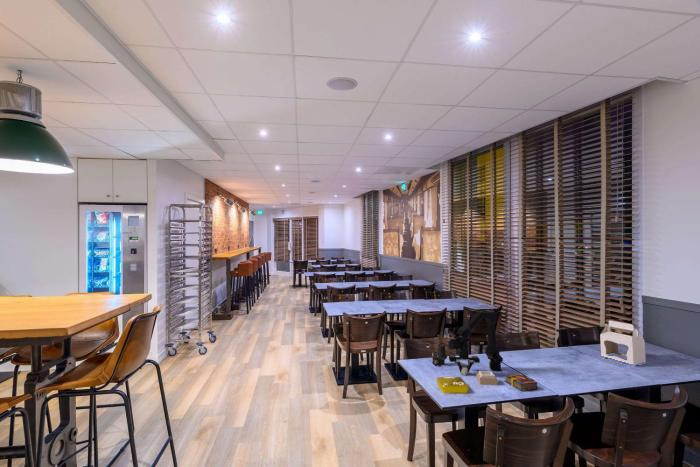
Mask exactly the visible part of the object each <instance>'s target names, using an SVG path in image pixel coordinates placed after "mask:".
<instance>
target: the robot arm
mask: <svg viewBox="0 0 700 467" xmlns="http://www.w3.org/2000/svg"><path fill="white" fill-rule="evenodd" d="M483 319H484V321H485V322H486V326H487V343H488V344H487V346H486V347H485V349H484V350H485V354H486V357H487V359H488V360H489V362H488V366H489V369H490V371H492V372H503V371H502V366H501V365H502V364H501V363H502V362H503V361H504V358H503V357H502V356H501V354H500V350H499V348H498V346H497V335H496V333H497V332H496V323H497V321H498V313H497V312H496V311H493V310H488V309H487V310H485V311H484V310H482V311H481V310H478V311H476V313H475V314H474V315H473V316H472V317H471V319H469V321H468V322H467V323H466V324H464V325H462V326H460V327H459V328H458V329H457V331H456V333H455V335H454V337H453V338H450V339H449V341H448V342H447V345H448V349H450V351H451V350H453V351H454V350H455V351H454V354H456V355H458V356H456V355H453V354H449V356H448V360H449V363H455V364H456V365H457V367H458V369H459V372H460V373H461V362H460V361H467V365H468V374H469V372H470V370H471V368H472V366H473V365H475V363H477V364H478V363H479V364H480V363H481V361H480V357H479V356H478V355H471V356H470V357H469V355H470V354H469V353H470V352H469V342H471V341H472V340H471V339H470V337H471V334H472V330H474V328H475V327H476V326H477V325H478V324H479V323H480V322H481V320H483Z"/></svg>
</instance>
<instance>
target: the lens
mask: <svg viewBox="0 0 700 467" xmlns="http://www.w3.org/2000/svg"><path fill="white" fill-rule="evenodd" d="M460 365H461V372H460V375H461V376H464V377H466V376H469V373H468V364H466V363H460Z"/></svg>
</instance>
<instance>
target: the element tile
mask: <svg viewBox="0 0 700 467" xmlns="http://www.w3.org/2000/svg"><path fill="white" fill-rule="evenodd" d="M436 385H437V386H438V388H439V390H440V392H441V393H443V394H468V393H469V385H468V384H467V383H466V382H465V380H464V379H463V378H462V377H461V376H438V377H436Z"/></svg>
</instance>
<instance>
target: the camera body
mask: <svg viewBox="0 0 700 467" xmlns="http://www.w3.org/2000/svg"><path fill="white" fill-rule="evenodd" d="M476 381H477V382H478V383H479V385H481V386H483V385H485V386H498V377H497V376H496V375H495V374H494V372H493V371H492V370H490V371H489V370H479V371H478V372H476Z"/></svg>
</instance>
